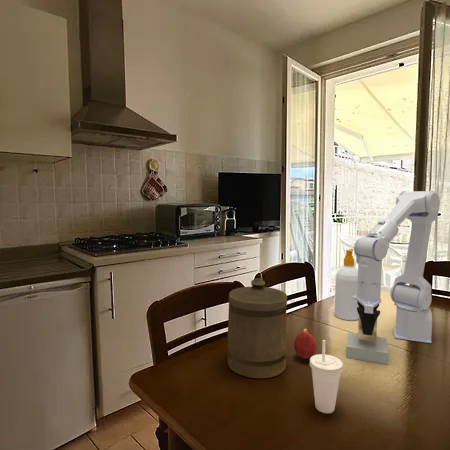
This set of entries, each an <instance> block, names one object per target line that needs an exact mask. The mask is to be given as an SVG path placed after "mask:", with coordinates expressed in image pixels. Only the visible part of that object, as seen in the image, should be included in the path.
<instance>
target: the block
mask: <svg viewBox="0 0 450 450" xmlns="http://www.w3.org/2000/svg"><path fill="white" fill-rule="evenodd" d="M377 331H378V319H377V320H376V322H375V325H374V330H373V333H372V335H364V334H363V331H362V324H361V319H360V316H359V319H358V328H357V332H358V333H357V334H358V339H363V340H369V341H376V338H377V337H378V336H377V333H378V332H377Z"/></svg>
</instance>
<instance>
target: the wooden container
mask: <svg viewBox="0 0 450 450" xmlns="http://www.w3.org/2000/svg"><path fill="white" fill-rule="evenodd" d="M250 284H251V286H243V287H242V286H241V287H237V288H235V289H232V290H231V291H230V292H229V293H228V316H227V317H228V318H227V320H228V322H227V366H228V367H229V369H230V370H231V371H233V372H234V373H235V374H238V375H240V376H243V377H246V378H251V379H270V378H272V377H276V376H279V375H280V374H282V373H283V372H285V370H286V368H287V341H288V340H287V337H288V336H287V335H288V334H287V307H288V295H287V293H286V292H284V291H282V290H281V289H278V288H273V287H270V286H269V287H267V286H265V285H266V281H265V280H264V279H262V278H261V277H259V278H258V277H256V278H254V279H252V280H251V282H250Z"/></svg>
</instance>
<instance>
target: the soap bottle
mask: <svg viewBox="0 0 450 450" xmlns="http://www.w3.org/2000/svg"><path fill="white" fill-rule="evenodd" d="M353 252H354V248H349V249H345V256H344V257H343V265H342V266H341V267H340V268H339V269H338V270H337V271H336V275H335V285H334V287H335V288H334V289H335V292H334V293H335V294H334V316H335V317H336V318H338V319H340V320H344V321H359V314H358V312H357V307H359V306H358V304H357V300H353V295H356V296H357V288H358V268H357V267H356V266H355V258H354V256H353Z"/></svg>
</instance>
